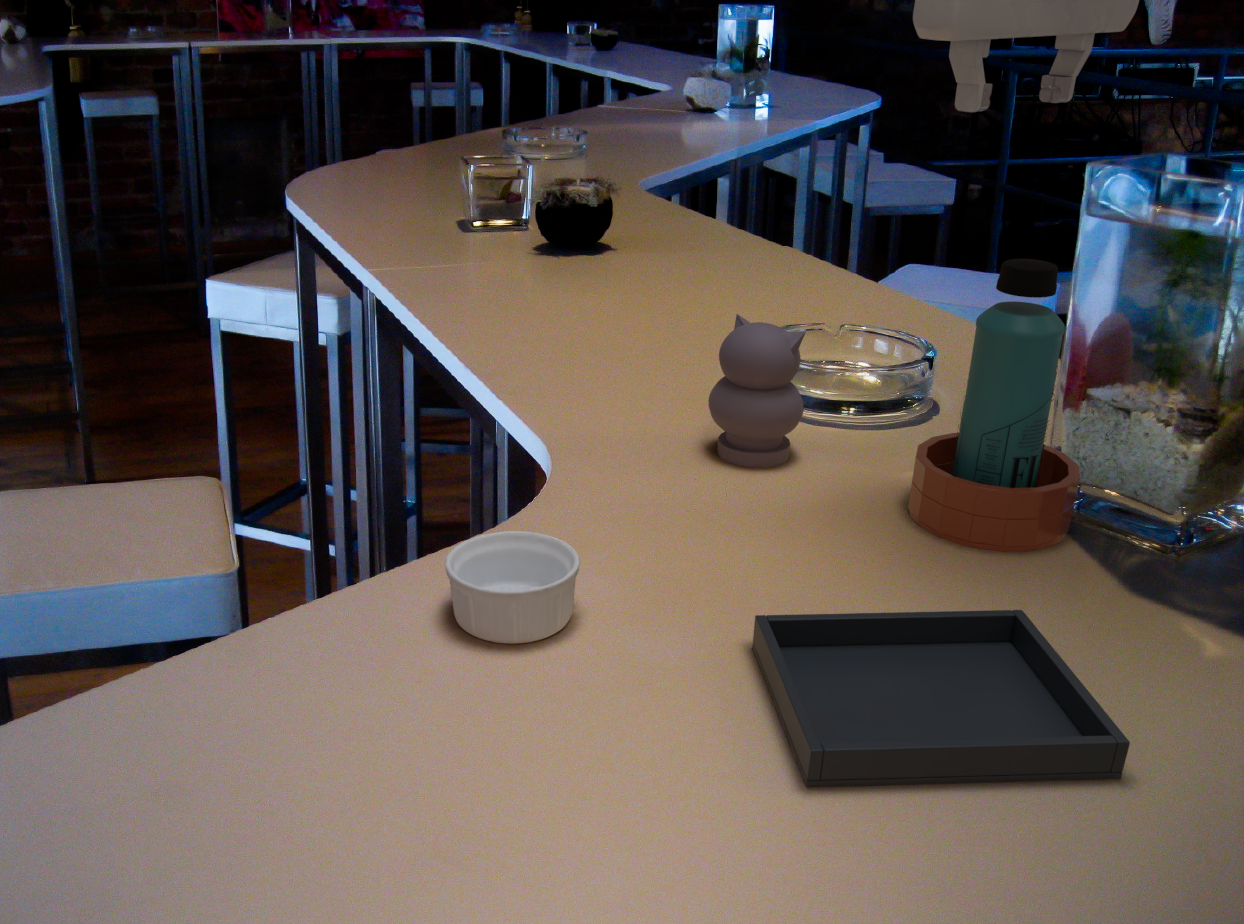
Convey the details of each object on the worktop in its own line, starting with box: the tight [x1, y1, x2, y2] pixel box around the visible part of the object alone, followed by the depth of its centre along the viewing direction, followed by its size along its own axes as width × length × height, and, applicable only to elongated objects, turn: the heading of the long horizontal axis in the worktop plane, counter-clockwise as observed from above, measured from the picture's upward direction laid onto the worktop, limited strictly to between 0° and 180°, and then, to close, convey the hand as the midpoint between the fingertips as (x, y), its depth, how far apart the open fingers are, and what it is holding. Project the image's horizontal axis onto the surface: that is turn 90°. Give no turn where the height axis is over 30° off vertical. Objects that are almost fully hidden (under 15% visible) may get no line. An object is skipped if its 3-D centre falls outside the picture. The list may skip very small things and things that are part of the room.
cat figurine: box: [708, 313, 807, 468], centre depth 106 cm, size 8×8×12 cm
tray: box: [751, 609, 1131, 789], centre depth 72 cm, size 17×14×2 cm
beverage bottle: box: [951, 258, 1066, 488], centre depth 92 cm, size 6×7×20 cm
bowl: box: [907, 432, 1081, 553], centre depth 95 cm, size 12×12×5 cm
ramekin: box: [444, 530, 581, 645], centre depth 81 cm, size 9×9×4 cm
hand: (1014, 106), depth 85 cm, fingers open, 8 cm apart
